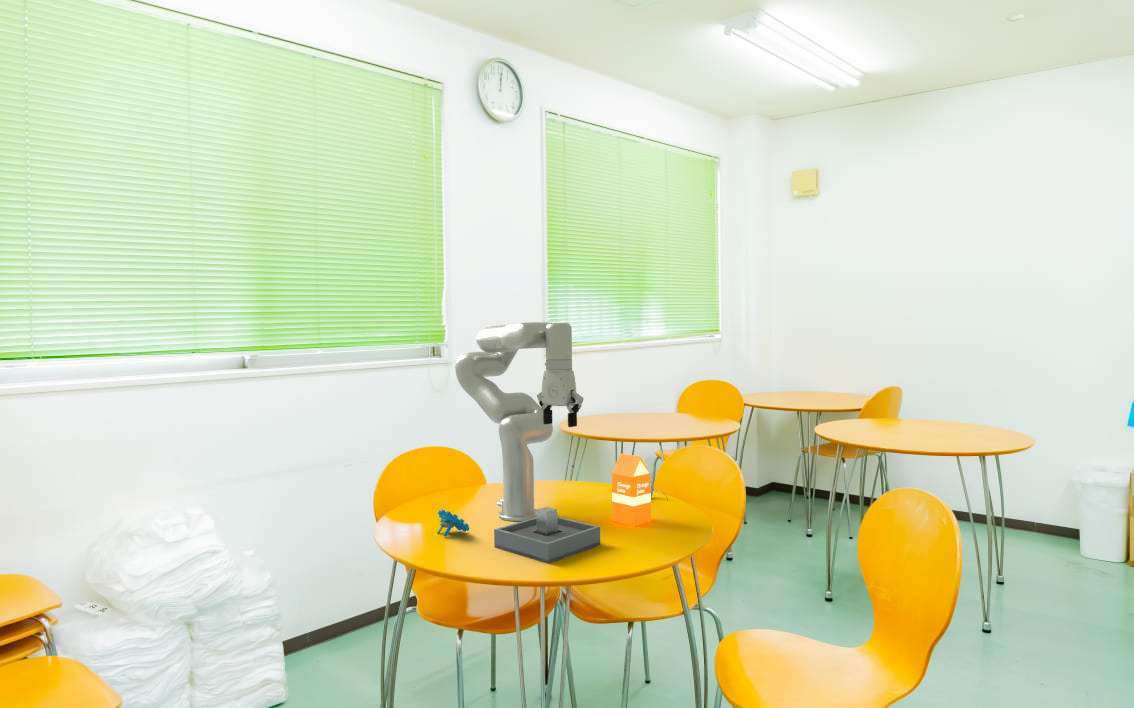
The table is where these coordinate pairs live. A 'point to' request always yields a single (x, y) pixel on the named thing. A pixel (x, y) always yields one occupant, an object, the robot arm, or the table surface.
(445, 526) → the blue bumpy legged piece
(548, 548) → the box
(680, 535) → the table surface
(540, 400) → the robot arm
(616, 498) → the orange juice
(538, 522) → the peg
